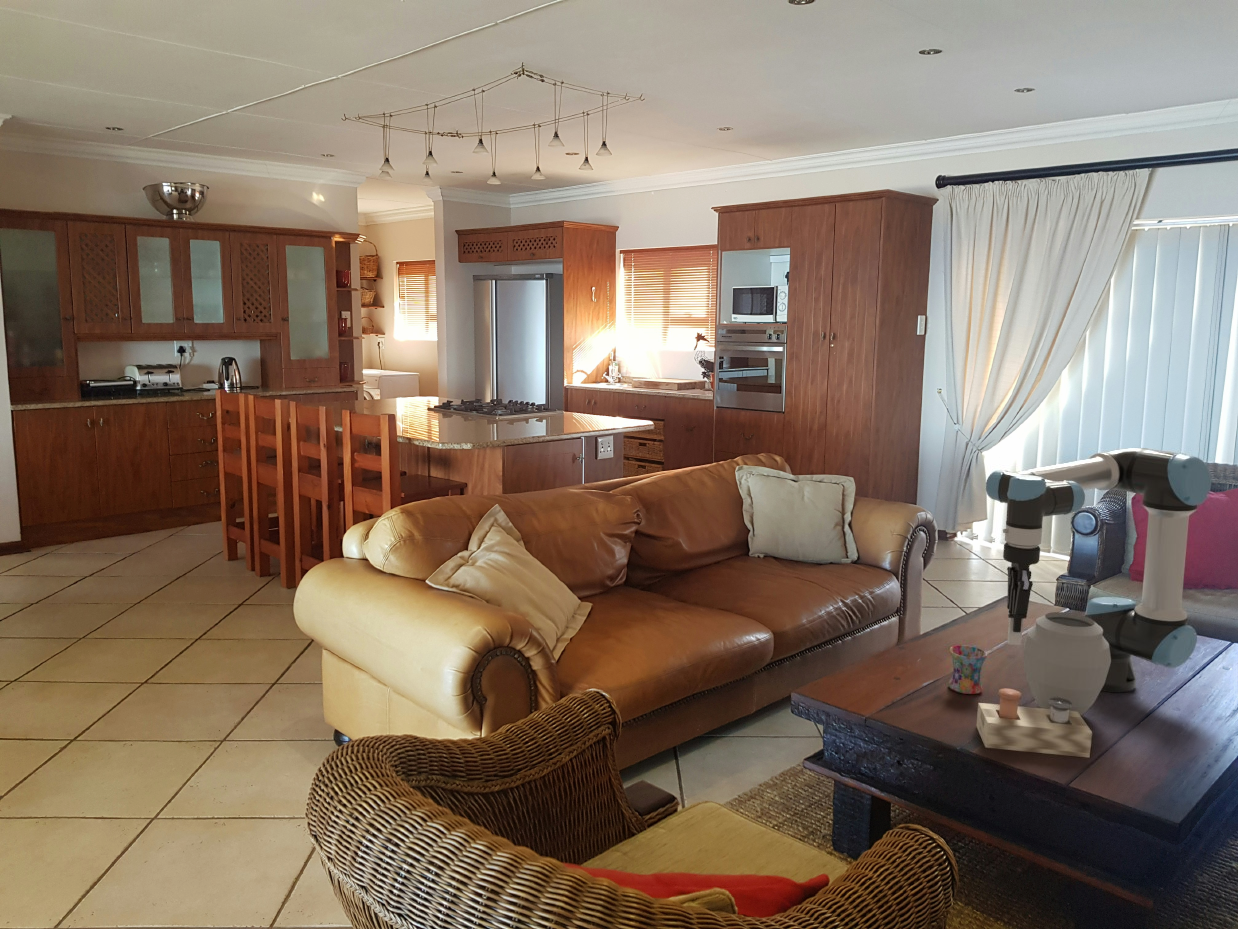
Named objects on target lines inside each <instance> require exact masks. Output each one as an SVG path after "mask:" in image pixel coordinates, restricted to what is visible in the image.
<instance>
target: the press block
mask: <svg viewBox="0 0 1238 929" xmlns="http://www.w3.org/2000/svg"><path fill="white" fill-rule="evenodd" d="M999 709H1000V704H996V703H986V702H985V703H984V702H983V703H982V702H978V704H977V714H976V715H977V716H976V729H977V731H978V733H979V736H980V737H981V740H982V742H983V743H982V744H983V745H984V747H985V748H988V749H996V750H1009V751H1017V752H1018V751H1019V752H1028V753H1039V754H1040V753H1041V754H1048V755H1049V754H1050V755H1056V756H1057V755H1059V756H1069V757H1078V758H1079V757H1080V758H1090V755H1091V746H1092V736H1093V732H1092V730H1091V729H1090V727H1089V726H1088V725H1087V723H1086V722H1085V720H1084V718H1083V717H1082V715H1081V716H1080V714H1079V713H1078V712H1076V711H1069V716H1068V724H1059V723H1051V722H1050V721H1049V720H1050V710H1051V709H1043V708H1040V707H1029V706H1021V705H1020V706H1019V705H1018V710H1017V720H1015V719H1004V718H999Z"/></svg>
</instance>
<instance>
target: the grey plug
mask: <svg viewBox="0 0 1238 929" xmlns="http://www.w3.org/2000/svg"><path fill="white" fill-rule="evenodd" d="M1049 705H1050V706H1051V710H1050V720H1049V721H1050V722H1051V723H1059V724H1068V716H1069V709H1071V708H1072V702H1070V701H1069V700H1066V699H1063V698H1056V697H1055V698H1050V699H1049Z"/></svg>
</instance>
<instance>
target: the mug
mask: <svg viewBox="0 0 1238 929" xmlns="http://www.w3.org/2000/svg"><path fill="white" fill-rule="evenodd" d="M948 650H949V653H950V655H951V659H952V665H953V666H952V673H951V674H952V675H951V677H950V680H949V682H948V684H947V685H948V686H949V688H950V689H951V690H953V691H955V692H957V693H961V694H965V695H976V694H980V693H981V692H982V691H983V690H984V688H983V685H982V681H981V671H982V667H983V664H984V662H985V661H986V658H987V657H988V653H987V651H985V649H982V648H980V647H977V646H973V645H966V644H962V645H961V644H958V645H957V644H956V645H953V646H951V647H949V649H948Z"/></svg>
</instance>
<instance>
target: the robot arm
mask: <svg viewBox="0 0 1238 929" xmlns="http://www.w3.org/2000/svg"><path fill="white" fill-rule="evenodd" d="M1211 476H1212V475H1211V472H1210V469H1209V467H1208V465H1207V464H1206V463H1205V462H1204V461H1203V460H1202V459H1201V458H1199V457H1198V456H1193V455H1188V454H1186V453H1183V452H1173V451H1168V450H1167V451H1165V450H1157V449H1149V448H1146V447H1145V448H1144V447H1131V448H1122V449H1121V448H1120V449H1114V450H1110V451H1105V452H1099V453H1094V454H1093V455H1091V456H1090V457H1089V458H1087V459H1082V460H1076V461H1071V462H1066V463H1059V464H1054V465H1049V466H1043V467H1038V468H1033V469H1025V470H1021V471H1020V470H1019V471H1008V470H1001V469H1000V470H994V471H992V472H991V473H990V474H989V476H988V477H987V479H986V482H985V492H986V494H987V496H988V498H990V499H991V500H993V501H998V502H999V503H1000V504H1001V503H1002V504H1003V503H1004V504H1006V519H1005V520H1006V521H1005V528H1003V529H1002V533H1003V534H1004V541H1005V543H1004V544H1003V554H1002V558H1003V560H1005V561H1006V562H1009V563H1010V566H1007V568H1006V571H1007V601H1006V602H1007V603H1006V604H1007V605H1006V608H1007V610H1008V614H1007V617H1008V629H1007V640H1006V641H1007V642H1006V643H1007V644H1008V645H1009V646H1010V645H1011V646H1013V645H1014V646H1022V641H1023V627H1024V619H1027V617H1028V616H1027V615H1028V609H1029V603H1030V598H1031V597H1030V596H1031V591H1032V589H1033V586H1034V585H1033V584H1034V583H1033V581H1031V579H1032V570H1030V566H1031V565H1036V564H1038V563H1039V562H1040V555H1041V547H1040V545H1041V544H1042V537H1043V536H1042V535H1043V534H1042V533H1043V523H1044V522H1043V521H1044V520H1043V519H1044V518H1045V517H1050V516H1051V517H1052V516H1060V515H1063V516H1064V515H1069V514H1072V513H1077V512H1079V511H1080V510H1081V509H1082V508H1083V507H1084V504H1085V501H1086V500H1085V499H1086V494H1085V491H1088V490H1093V489H1096V490H1099V491H1109V490H1117V491H1124V492H1128V493H1133V494H1137V495H1141V496H1142V507H1143V508H1144V509H1145V510H1146V511H1147V512H1148V516H1147V517H1148V519H1147V520H1148V521H1147V531H1146V532H1147V533H1146V543H1145V555H1144V556H1145V557H1144V570H1143V571H1144V572H1143V582H1142V592H1141V593H1142V594H1141V596H1142V597H1141V602H1140V603H1139V604H1138V605H1137V602H1136V601H1135V600H1134V599H1130V598H1124V597H1116V596H1114V597H1113V596H1102V597H1094V598H1091V599H1090V600H1088V602H1087V603H1086V608H1085V612H1084V616H1085V617H1088V618H1090V619H1092V620H1093V621H1094V622H1095V623H1097V624H1098V625H1099V626H1100V627H1101V628H1102V629H1103V635H1102V636H1103V637H1104V638H1105V640H1106V641H1107V642H1108V643H1109V649H1110V656H1111V664H1110V667H1109V670H1108V674H1107V677H1106V680H1105V683H1104V686H1103V687H1102V689H1101V691H1103V692H1107V693H1108V692H1109V693H1129V692H1131V691H1134V690H1135V688H1136V683H1137V680H1136V675H1135V671H1134V667H1133V662H1132V658H1131V656H1132V657H1136V658H1139V659H1142V660H1144V661H1147V662H1150V663H1152V664H1153V665H1156V666H1161V667H1164V668H1168V669H1176V668H1177V667H1180V666H1182V665H1183V664H1185V663H1186V662H1187V661H1188V659H1190V658H1191V656H1192V654H1193V653H1194V650H1195V648H1196V645H1197V642H1198V633H1197V632H1196V629H1195V628H1193V627H1192V626H1191V625H1188V613H1187V612H1186V611H1185V610H1184V609H1183V608H1182V602H1183V601H1182V600H1183V590H1184V579H1185V578H1184V576H1185V568H1186V567H1185V565H1186V558H1187V557H1186V553H1187V542H1188V533H1189V521H1190V515H1192V514H1193V513H1195V512H1196V511H1197V510H1198V505H1201V504H1203V503H1204V502H1205V501H1206V500H1207V498H1208V495H1209V494H1210V491H1211V489H1212V477H1211ZM1101 691H1100V692H1101Z"/></svg>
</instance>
